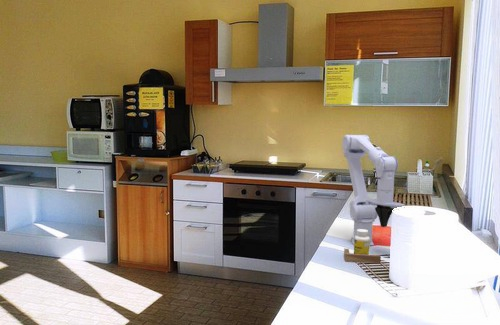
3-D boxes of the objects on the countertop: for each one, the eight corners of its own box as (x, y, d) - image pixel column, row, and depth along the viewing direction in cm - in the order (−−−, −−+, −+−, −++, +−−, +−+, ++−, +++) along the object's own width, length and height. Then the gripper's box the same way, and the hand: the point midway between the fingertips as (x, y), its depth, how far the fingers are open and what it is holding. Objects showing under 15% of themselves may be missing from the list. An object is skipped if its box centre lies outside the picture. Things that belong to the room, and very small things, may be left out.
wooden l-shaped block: (344, 255, 176) (344, 248, 176) (378, 257, 174) (378, 250, 174) (345, 261, 169) (345, 254, 169) (380, 263, 167) (380, 256, 167)
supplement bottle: (350, 255, 176) (351, 229, 175) (361, 253, 178) (363, 227, 177) (360, 259, 171) (361, 232, 170) (372, 258, 173) (373, 231, 172)
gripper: (409, 191, 173) (407, 228, 175) (373, 186, 184) (372, 221, 185) (399, 193, 168) (397, 231, 170) (363, 188, 179) (362, 224, 180)
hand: (383, 226), depth 177 cm, fingers closed
